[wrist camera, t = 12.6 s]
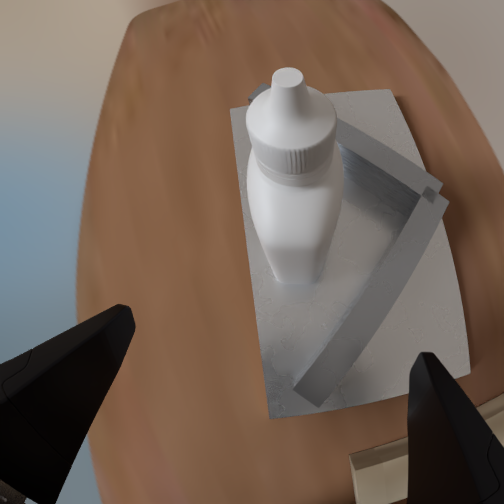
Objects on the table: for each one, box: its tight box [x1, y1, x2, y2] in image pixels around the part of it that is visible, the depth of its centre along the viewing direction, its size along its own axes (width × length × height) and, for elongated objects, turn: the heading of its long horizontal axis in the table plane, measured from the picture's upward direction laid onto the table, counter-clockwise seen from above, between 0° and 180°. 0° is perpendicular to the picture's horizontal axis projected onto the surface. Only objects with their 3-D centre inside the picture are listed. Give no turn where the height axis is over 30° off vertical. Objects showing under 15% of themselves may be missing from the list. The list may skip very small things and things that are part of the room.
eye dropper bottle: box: [246, 68, 344, 284], centre depth 12 cm, size 4×6×12 cm
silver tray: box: [230, 83, 471, 419], centre depth 17 cm, size 12×20×4 cm, turn 7°
